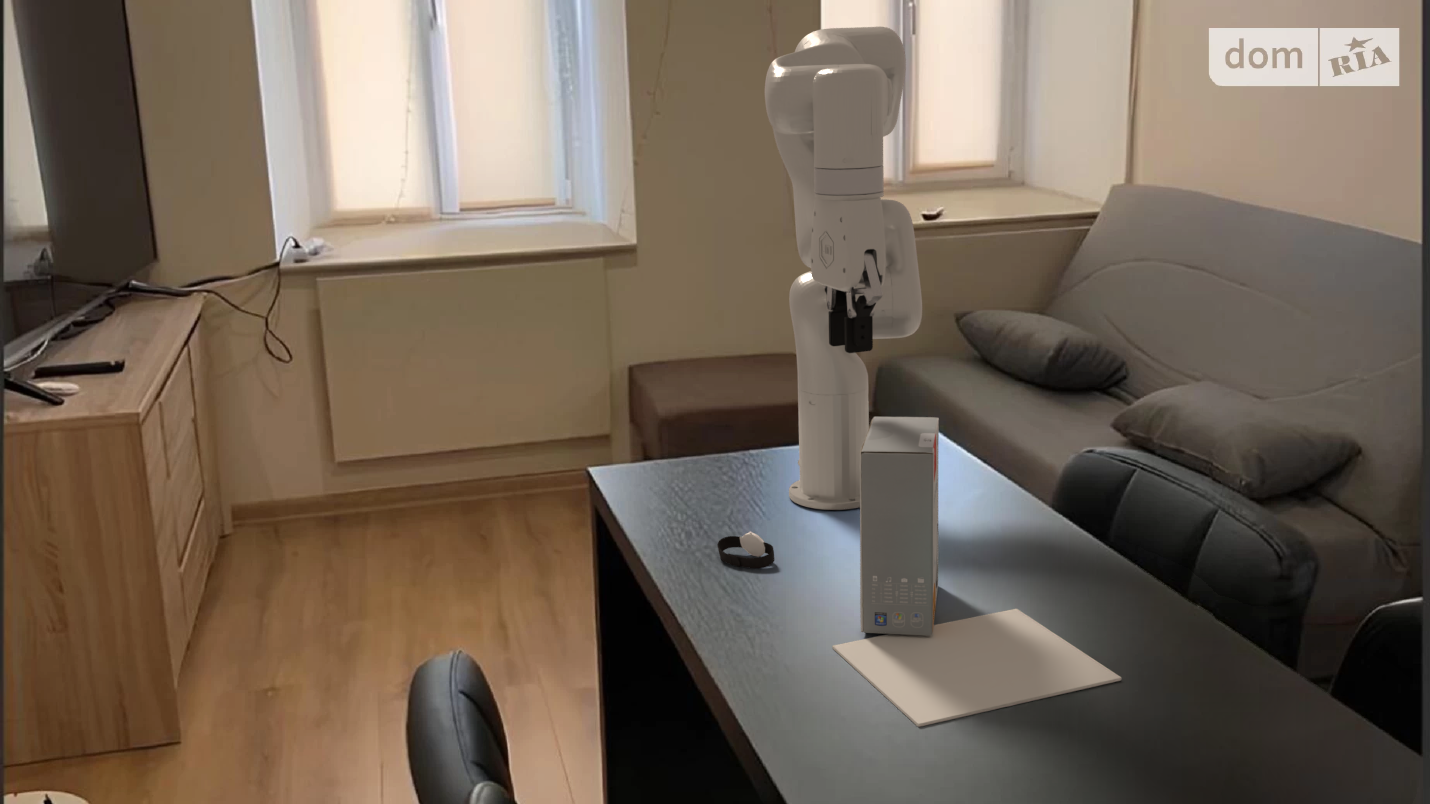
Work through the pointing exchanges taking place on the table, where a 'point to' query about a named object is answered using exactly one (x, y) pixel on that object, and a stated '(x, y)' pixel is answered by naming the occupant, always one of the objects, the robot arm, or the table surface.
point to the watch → (752, 546)
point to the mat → (973, 666)
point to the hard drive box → (899, 525)
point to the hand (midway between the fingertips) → (850, 346)
